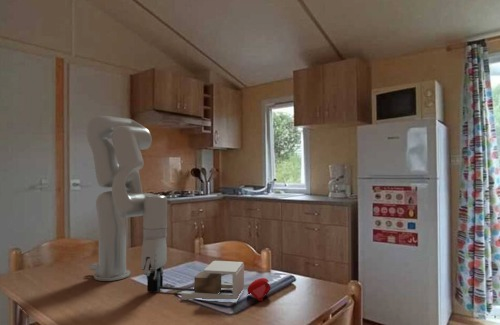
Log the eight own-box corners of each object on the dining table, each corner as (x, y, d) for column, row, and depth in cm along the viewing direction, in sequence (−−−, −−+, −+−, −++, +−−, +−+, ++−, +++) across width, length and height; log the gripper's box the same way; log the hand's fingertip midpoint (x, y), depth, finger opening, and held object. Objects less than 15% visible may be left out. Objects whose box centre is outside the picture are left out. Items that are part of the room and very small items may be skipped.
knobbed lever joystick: (146, 293, 112) (146, 274, 112) (154, 287, 118) (154, 269, 118) (216, 298, 108) (216, 278, 108) (221, 291, 114) (221, 272, 114)
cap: (275, 284, 111) (260, 273, 113) (272, 284, 105) (256, 271, 107) (260, 306, 109) (245, 294, 112) (257, 307, 104) (241, 294, 106)
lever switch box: (181, 299, 107) (181, 268, 107) (193, 287, 118) (193, 259, 118) (236, 303, 104) (236, 271, 104) (244, 290, 115) (243, 262, 115)
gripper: (155, 228, 124) (155, 280, 123) (131, 237, 107) (131, 297, 107) (175, 229, 122) (175, 282, 122) (154, 238, 106) (154, 299, 106)
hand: (155, 288), depth 115 cm, fingers closed on knobbed lever joystick, 3 cm apart
